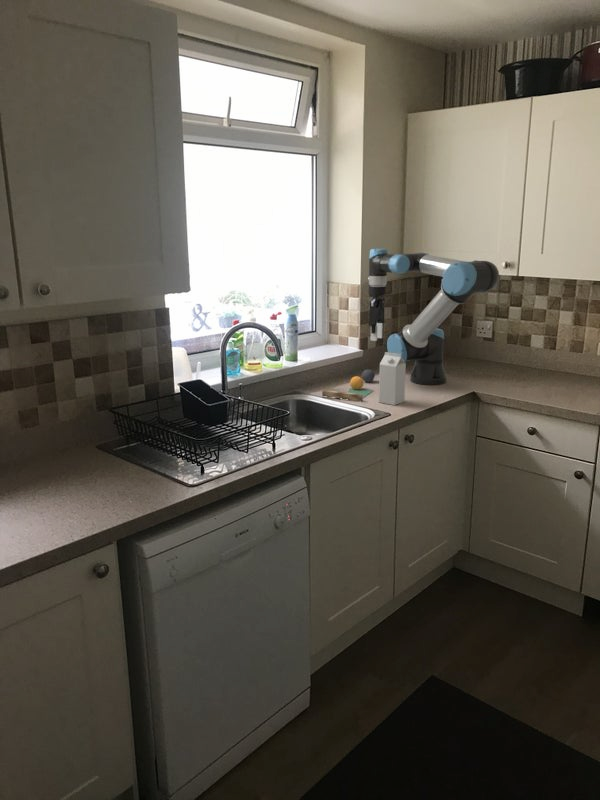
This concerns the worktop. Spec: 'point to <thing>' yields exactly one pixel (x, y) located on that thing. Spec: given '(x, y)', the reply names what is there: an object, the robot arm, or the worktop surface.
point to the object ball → (356, 382)
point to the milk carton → (392, 379)
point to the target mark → (360, 391)
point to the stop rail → (343, 395)
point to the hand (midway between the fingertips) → (376, 339)
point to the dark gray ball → (368, 375)
